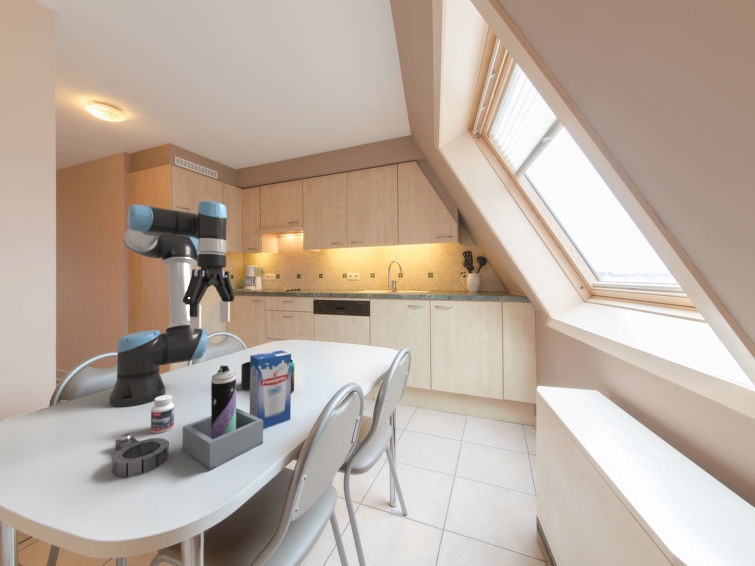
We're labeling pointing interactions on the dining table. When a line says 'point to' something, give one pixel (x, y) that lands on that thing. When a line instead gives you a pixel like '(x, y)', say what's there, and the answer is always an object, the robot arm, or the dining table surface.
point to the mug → (245, 376)
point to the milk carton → (270, 387)
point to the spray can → (223, 402)
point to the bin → (222, 440)
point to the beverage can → (292, 376)
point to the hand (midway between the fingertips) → (211, 325)
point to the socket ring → (138, 455)
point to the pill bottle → (162, 414)
